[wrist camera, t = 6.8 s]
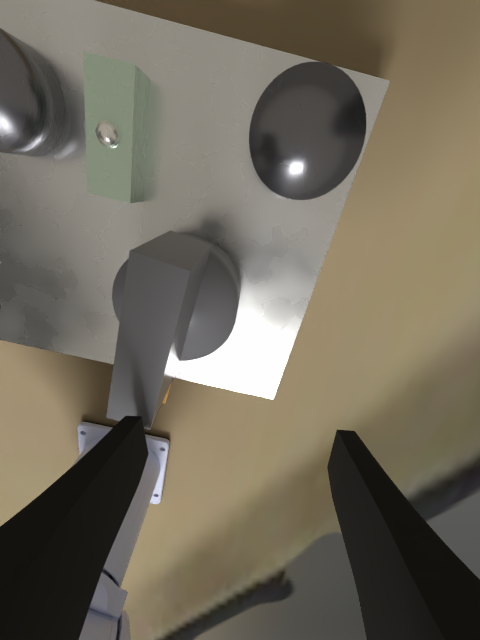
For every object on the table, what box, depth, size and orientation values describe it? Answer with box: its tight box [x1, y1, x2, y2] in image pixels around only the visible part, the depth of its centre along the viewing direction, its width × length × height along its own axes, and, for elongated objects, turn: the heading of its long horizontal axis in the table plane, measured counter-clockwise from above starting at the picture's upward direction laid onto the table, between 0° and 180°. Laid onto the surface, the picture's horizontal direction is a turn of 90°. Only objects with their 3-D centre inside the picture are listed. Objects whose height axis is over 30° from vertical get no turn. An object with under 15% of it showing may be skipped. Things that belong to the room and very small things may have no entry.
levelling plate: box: [0, 0, 390, 399], centre depth 14 cm, size 18×20×4 cm
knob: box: [106, 230, 241, 430], centre depth 14 cm, size 6×12×7 cm, turn 162°
